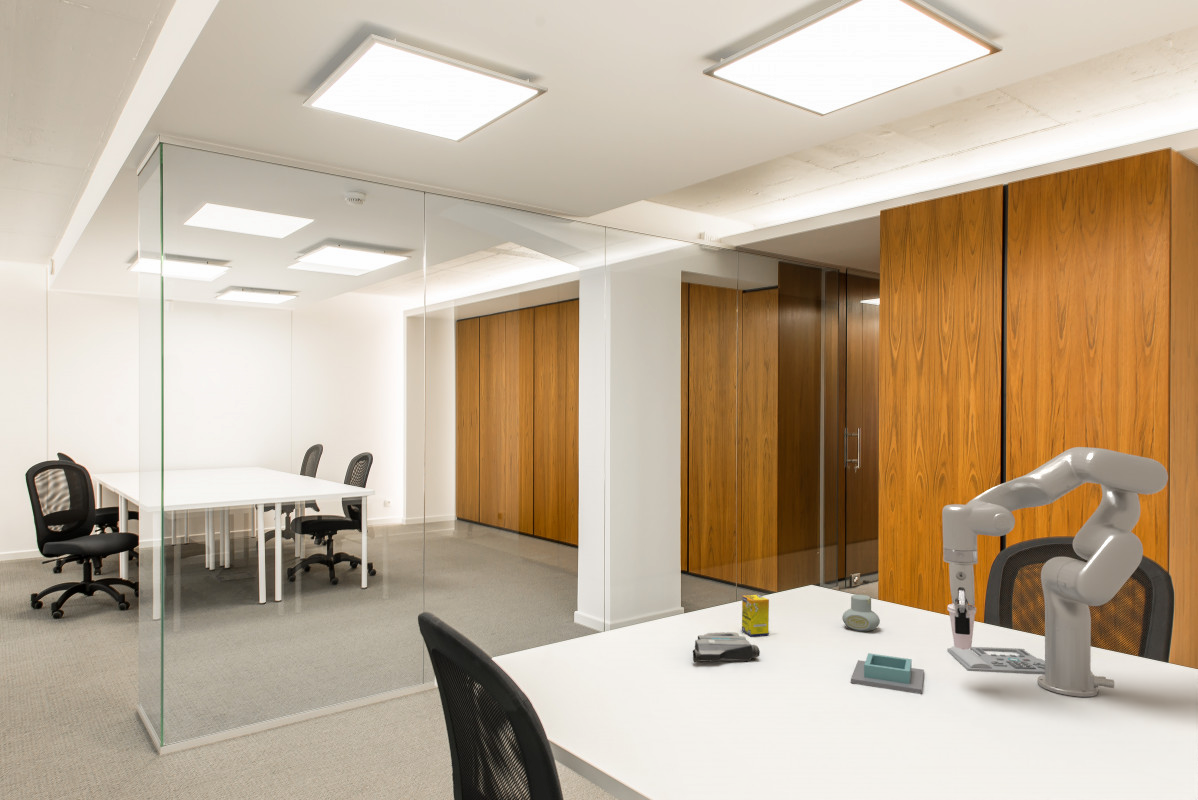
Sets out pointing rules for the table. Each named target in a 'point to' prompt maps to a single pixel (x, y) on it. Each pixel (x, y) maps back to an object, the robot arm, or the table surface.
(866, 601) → the air freshener
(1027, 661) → the office telephone
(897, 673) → the mount
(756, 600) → the supplement box
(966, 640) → the smoothie
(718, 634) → the camcorder
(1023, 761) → the table surface
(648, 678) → the table surface
